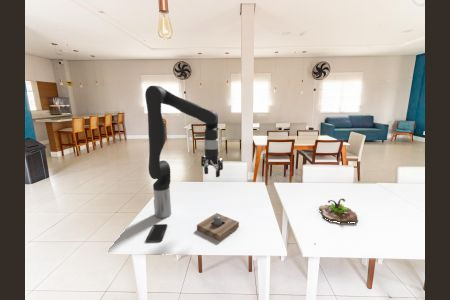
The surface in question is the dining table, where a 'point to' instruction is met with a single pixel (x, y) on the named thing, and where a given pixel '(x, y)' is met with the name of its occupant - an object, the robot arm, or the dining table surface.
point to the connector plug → (217, 221)
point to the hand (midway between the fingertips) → (212, 175)
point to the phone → (157, 233)
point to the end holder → (214, 231)
